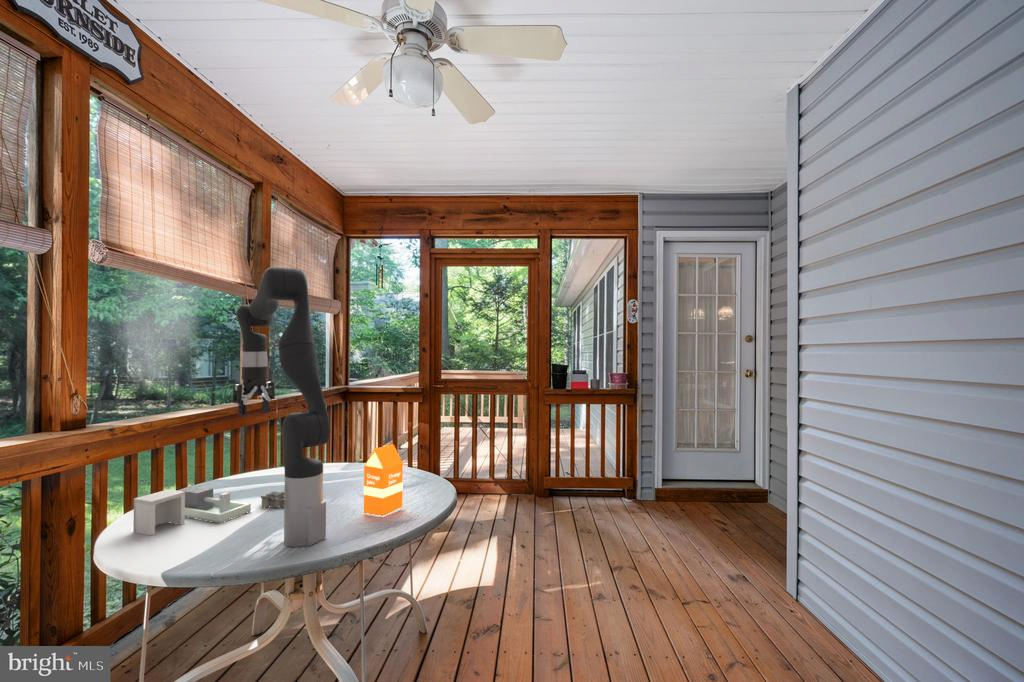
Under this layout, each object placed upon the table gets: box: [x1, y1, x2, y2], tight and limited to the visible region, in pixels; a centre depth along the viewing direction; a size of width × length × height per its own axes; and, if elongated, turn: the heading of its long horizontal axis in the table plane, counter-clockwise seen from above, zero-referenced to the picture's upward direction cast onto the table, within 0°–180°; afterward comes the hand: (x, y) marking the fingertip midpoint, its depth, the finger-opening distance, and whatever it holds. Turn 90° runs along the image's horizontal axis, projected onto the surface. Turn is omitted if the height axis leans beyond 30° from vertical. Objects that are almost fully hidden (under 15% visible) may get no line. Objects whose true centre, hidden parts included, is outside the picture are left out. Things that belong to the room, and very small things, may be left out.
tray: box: [185, 500, 252, 524], centre depth 142 cm, size 20×10×2 cm, turn 70°
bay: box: [132, 488, 186, 536], centre depth 130 cm, size 7×9×9 cm
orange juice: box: [363, 443, 404, 516], centre depth 143 cm, size 8×9×20 cm
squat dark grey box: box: [182, 486, 231, 513], centre depth 142 cm, size 15×5×6 cm, turn 70°
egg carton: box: [260, 491, 284, 508], centre depth 151 cm, size 11×8×4 cm
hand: (254, 414), depth 155 cm, fingers open, 8 cm apart
